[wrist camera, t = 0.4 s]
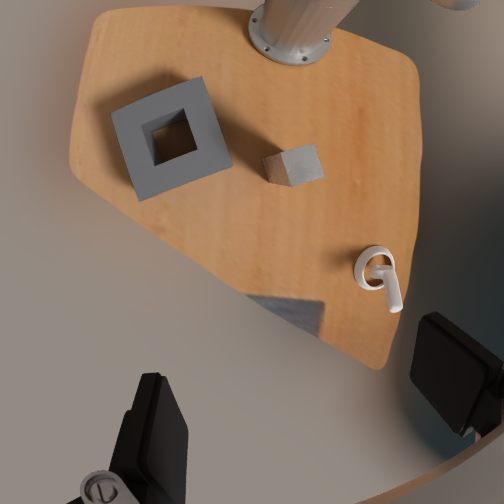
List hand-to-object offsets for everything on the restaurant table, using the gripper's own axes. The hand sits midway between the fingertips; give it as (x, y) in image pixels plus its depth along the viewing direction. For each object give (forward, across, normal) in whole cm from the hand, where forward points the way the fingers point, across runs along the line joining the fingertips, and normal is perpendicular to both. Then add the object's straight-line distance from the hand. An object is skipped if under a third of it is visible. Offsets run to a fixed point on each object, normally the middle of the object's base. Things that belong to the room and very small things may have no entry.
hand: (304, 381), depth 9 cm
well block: (+33, +7, -13) cm, 36 cm away
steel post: (+33, -6, -7) cm, 34 cm away
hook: (+33, -21, +11) cm, 41 cm away
